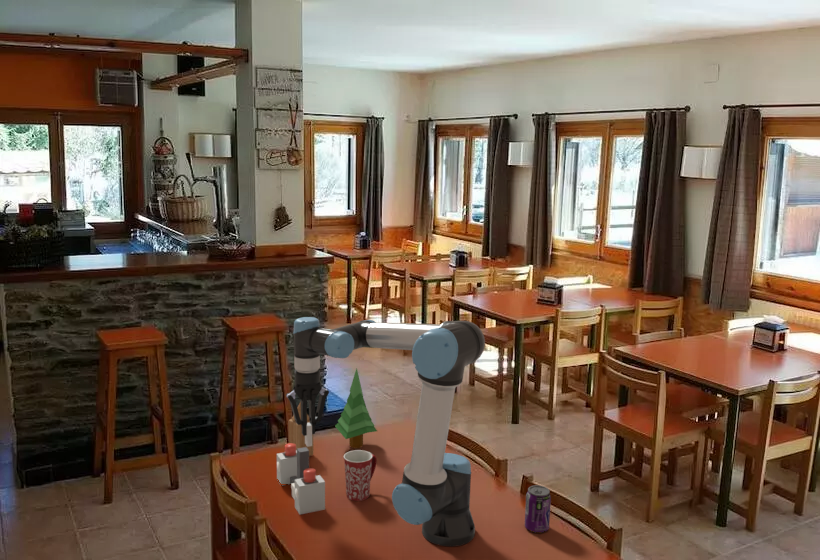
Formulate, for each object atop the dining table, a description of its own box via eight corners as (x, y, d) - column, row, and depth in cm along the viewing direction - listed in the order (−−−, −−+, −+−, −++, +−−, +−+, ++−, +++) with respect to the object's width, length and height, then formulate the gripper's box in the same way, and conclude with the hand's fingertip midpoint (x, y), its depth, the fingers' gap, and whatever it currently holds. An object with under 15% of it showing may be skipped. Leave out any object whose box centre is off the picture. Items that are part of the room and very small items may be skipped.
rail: (310, 503, 226) (310, 496, 225) (304, 505, 225) (304, 497, 225) (296, 483, 240) (295, 475, 239) (290, 484, 239) (289, 476, 238)
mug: (358, 505, 225) (358, 464, 223) (337, 496, 231) (337, 456, 229) (385, 491, 235) (386, 452, 232) (365, 482, 241) (365, 444, 238)
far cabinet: (304, 481, 241) (304, 455, 239) (280, 485, 237) (280, 459, 236) (300, 475, 245) (300, 449, 244) (276, 479, 242) (275, 453, 240)
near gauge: (317, 481, 221) (317, 472, 220) (305, 483, 219) (305, 474, 219) (313, 476, 224) (313, 467, 223) (302, 478, 222) (302, 469, 222)
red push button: (297, 455, 239) (297, 446, 238) (286, 457, 237) (286, 448, 237) (294, 451, 242) (294, 442, 242) (283, 452, 241) (283, 444, 240)
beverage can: (543, 537, 209) (545, 498, 207) (520, 530, 213) (522, 491, 211) (552, 526, 215) (554, 488, 213) (530, 519, 219) (532, 482, 217)
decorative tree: (382, 441, 274) (383, 364, 269) (362, 457, 260) (363, 376, 255) (350, 435, 280) (350, 359, 274) (329, 450, 266) (329, 370, 260)
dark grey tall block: (315, 500, 228) (315, 451, 225) (296, 504, 225) (296, 454, 222) (309, 492, 233) (309, 444, 230) (291, 495, 231) (290, 447, 228)
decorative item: (303, 449, 266) (303, 397, 262) (314, 455, 261) (313, 402, 257) (288, 454, 261) (287, 401, 258) (298, 460, 257) (298, 406, 253)
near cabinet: (325, 509, 223) (325, 481, 221) (298, 514, 219) (298, 486, 218) (319, 502, 227) (319, 474, 225) (294, 507, 224) (293, 479, 222)
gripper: (324, 363, 223) (325, 437, 227) (282, 368, 218) (284, 443, 222) (332, 370, 216) (333, 445, 220) (289, 375, 211) (290, 452, 215)
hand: (308, 444), depth 221 cm, fingers closed
